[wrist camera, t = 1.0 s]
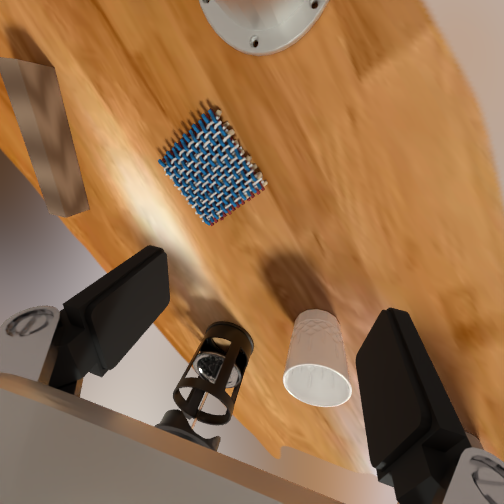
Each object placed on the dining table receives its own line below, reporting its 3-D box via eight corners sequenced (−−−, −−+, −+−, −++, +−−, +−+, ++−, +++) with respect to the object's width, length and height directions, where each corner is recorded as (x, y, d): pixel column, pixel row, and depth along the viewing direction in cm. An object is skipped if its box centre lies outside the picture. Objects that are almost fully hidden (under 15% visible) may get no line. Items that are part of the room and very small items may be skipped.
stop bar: (34, 65, 28) (-6, 56, 25) (54, 67, 28) (16, 59, 24) (74, 205, 37) (49, 213, 34) (89, 209, 37) (65, 217, 33)
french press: (223, 310, 40) (128, 489, 20) (266, 341, 40) (215, 542, 21) (194, 341, 46) (100, 501, 26) (232, 367, 46) (168, 541, 27)
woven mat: (212, 226, 33) (206, 231, 31) (163, 161, 30) (153, 163, 29) (272, 185, 28) (268, 189, 26) (219, 104, 25) (211, 102, 24)
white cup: (304, 297, 34) (299, 354, 25) (354, 319, 33) (366, 385, 25) (283, 329, 38) (273, 388, 30) (328, 350, 38) (330, 415, 29)
